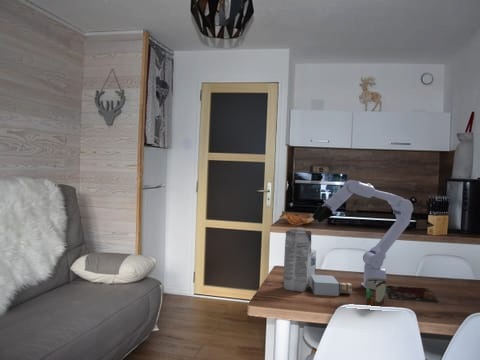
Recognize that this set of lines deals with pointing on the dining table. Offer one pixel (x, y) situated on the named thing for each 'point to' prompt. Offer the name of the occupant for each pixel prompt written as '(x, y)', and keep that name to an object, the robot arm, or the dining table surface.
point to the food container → (375, 291)
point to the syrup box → (313, 263)
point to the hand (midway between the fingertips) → (315, 219)
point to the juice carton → (297, 260)
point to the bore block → (325, 285)
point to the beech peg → (345, 288)
